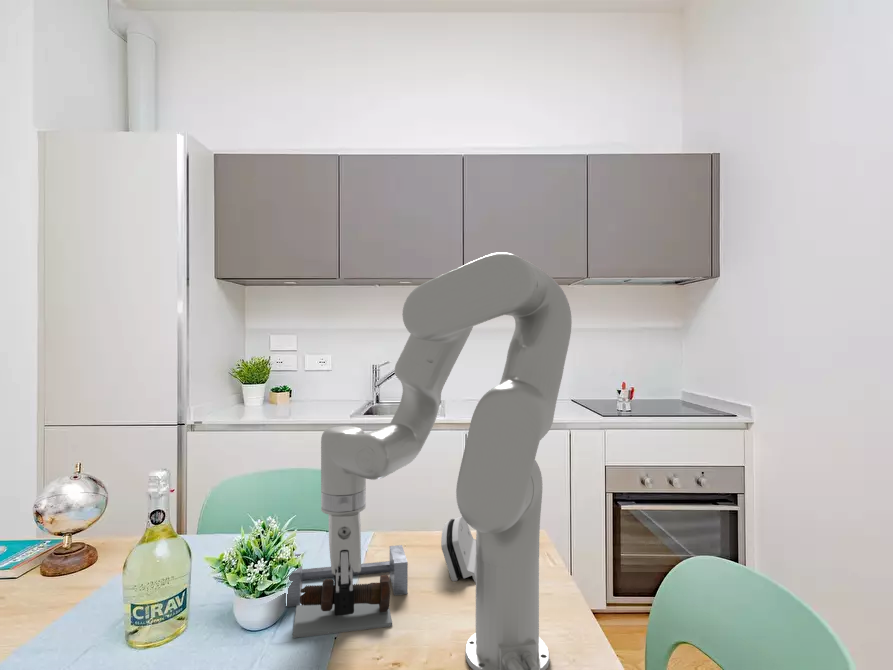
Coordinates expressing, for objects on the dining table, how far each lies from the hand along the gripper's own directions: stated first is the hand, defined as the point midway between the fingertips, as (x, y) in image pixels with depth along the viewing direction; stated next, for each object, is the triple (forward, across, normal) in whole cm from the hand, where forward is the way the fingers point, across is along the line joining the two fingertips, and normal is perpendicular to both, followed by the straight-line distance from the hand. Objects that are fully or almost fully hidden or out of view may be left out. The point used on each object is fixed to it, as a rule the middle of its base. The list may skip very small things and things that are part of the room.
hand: (343, 604), depth 89 cm
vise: (+2, +11, -1) cm, 12 cm away
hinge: (+3, +16, -25) cm, 30 cm away
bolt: (+1, 0, 0) cm, 1 cm away
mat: (+2, 0, 0) cm, 2 cm away
